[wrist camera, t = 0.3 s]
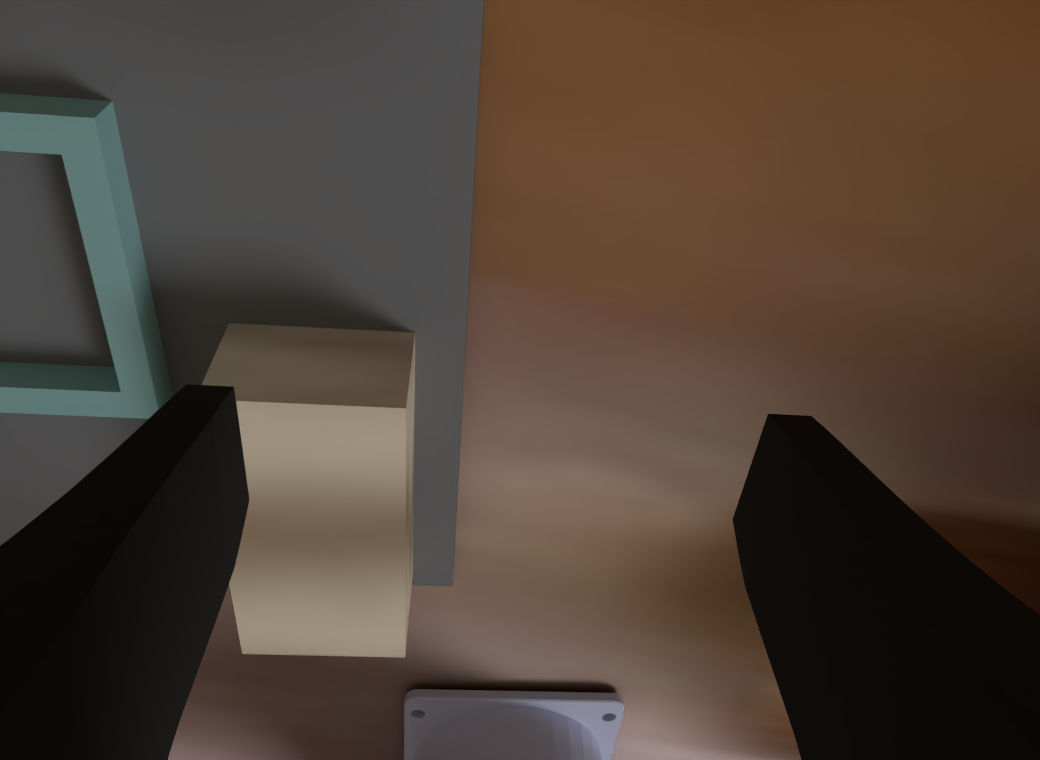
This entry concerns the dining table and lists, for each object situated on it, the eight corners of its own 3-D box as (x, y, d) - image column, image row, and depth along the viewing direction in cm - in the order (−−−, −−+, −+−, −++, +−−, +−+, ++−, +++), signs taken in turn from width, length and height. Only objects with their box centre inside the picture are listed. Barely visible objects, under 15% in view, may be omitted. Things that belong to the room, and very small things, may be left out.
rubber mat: (452, 573, 27) (452, 586, 27) (-212, 553, 26) (-223, 567, 25) (485, -45, 16) (486, -41, 16) (-653, -142, 15) (-685, -139, 14)
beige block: (412, 574, 26) (405, 657, 24) (264, 570, 26) (242, 654, 24) (415, 332, 21) (405, 408, 19) (229, 323, 21) (194, 399, 18)
